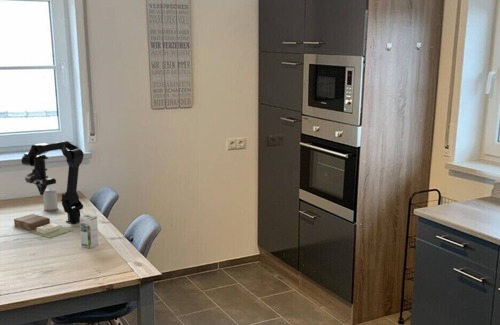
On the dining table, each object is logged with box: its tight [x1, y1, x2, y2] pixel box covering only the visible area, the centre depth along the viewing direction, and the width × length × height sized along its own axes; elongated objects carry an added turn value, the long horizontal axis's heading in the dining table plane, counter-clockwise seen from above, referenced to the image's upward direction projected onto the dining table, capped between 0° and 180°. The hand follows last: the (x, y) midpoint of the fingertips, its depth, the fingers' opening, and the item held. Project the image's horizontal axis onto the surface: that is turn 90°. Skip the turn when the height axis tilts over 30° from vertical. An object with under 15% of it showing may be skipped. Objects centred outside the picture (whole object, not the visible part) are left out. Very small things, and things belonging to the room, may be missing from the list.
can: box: [42, 187, 59, 212], centre depth 307 cm, size 8×8×12 cm
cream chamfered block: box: [36, 222, 60, 234], centre depth 270 cm, size 6×9×2 cm, turn 147°
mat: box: [28, 225, 74, 239], centre depth 270 cm, size 16×14×1 cm
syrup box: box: [79, 214, 99, 249], centre depth 249 cm, size 6×6×14 cm
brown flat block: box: [13, 213, 51, 232], centre depth 278 cm, size 14×11×4 cm
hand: (41, 195), depth 292 cm, fingers closed
